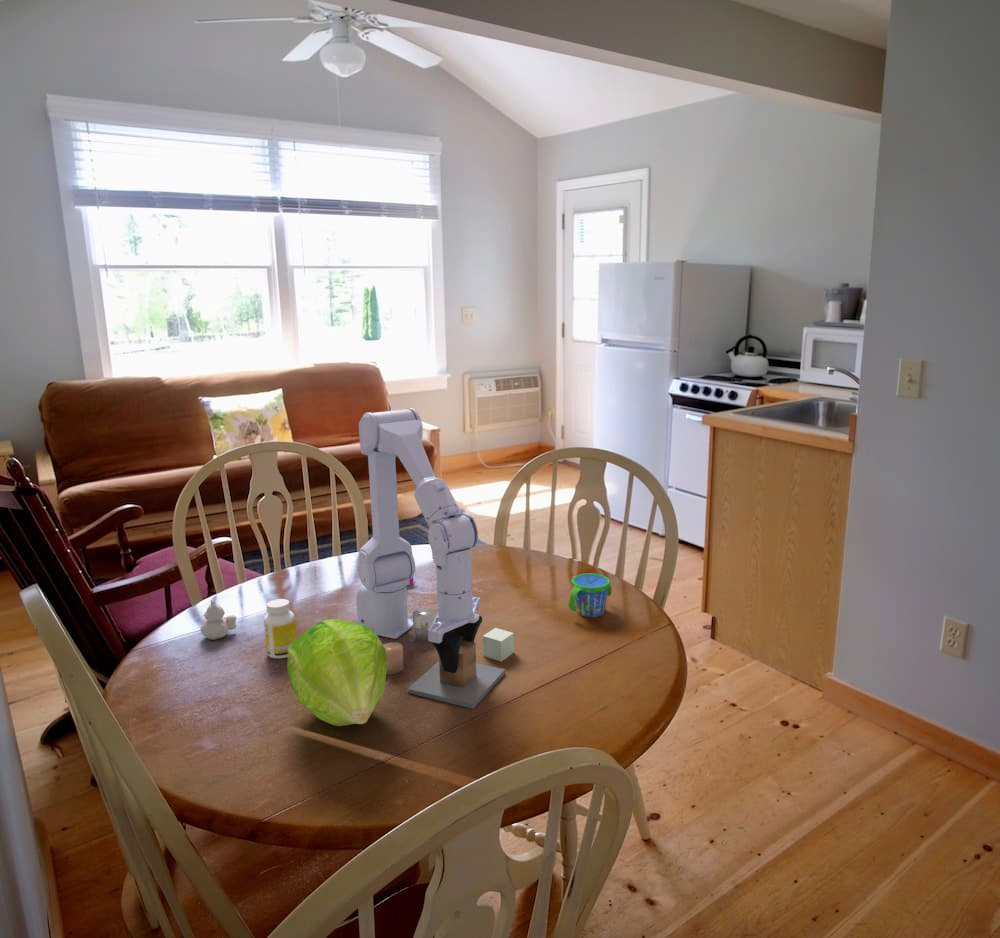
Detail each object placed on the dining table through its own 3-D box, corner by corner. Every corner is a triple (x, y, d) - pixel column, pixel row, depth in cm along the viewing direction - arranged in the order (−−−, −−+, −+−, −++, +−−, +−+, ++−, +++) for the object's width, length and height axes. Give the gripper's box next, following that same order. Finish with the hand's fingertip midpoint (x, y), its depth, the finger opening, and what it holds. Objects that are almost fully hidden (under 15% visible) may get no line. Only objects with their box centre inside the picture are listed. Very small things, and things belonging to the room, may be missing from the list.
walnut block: (440, 682, 119) (438, 649, 118) (452, 670, 123) (451, 638, 122) (464, 688, 117) (463, 654, 116) (476, 675, 121) (475, 642, 120)
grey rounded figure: (201, 635, 140) (196, 596, 138) (236, 627, 143) (232, 590, 141) (203, 646, 135) (198, 606, 134) (239, 638, 138) (235, 600, 136)
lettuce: (302, 781, 96) (293, 678, 93) (288, 698, 117) (281, 611, 113) (409, 756, 101) (404, 657, 98) (378, 681, 122) (373, 597, 118)
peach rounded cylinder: (376, 671, 125) (375, 650, 124) (389, 661, 129) (387, 640, 128) (395, 676, 123) (394, 654, 122) (408, 665, 127) (407, 644, 126)
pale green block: (483, 656, 130) (482, 635, 129) (495, 647, 133) (495, 627, 132) (501, 662, 128) (501, 641, 127) (513, 653, 131) (513, 633, 130)
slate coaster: (408, 693, 118) (407, 688, 118) (443, 660, 128) (443, 656, 128) (473, 708, 113) (473, 704, 113) (505, 673, 123) (504, 669, 123)
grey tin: (409, 639, 137) (408, 615, 136) (421, 630, 141) (420, 606, 140) (429, 643, 135) (428, 618, 134) (440, 633, 139) (439, 609, 138)
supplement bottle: (303, 648, 134) (299, 599, 131) (283, 662, 129) (279, 611, 127) (281, 643, 136) (276, 595, 134) (260, 656, 131) (255, 606, 129)
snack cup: (582, 628, 140) (582, 592, 139) (556, 615, 146) (556, 580, 145) (623, 613, 147) (624, 579, 145) (597, 601, 153) (598, 568, 151)
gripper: (455, 608, 109) (457, 690, 112) (495, 576, 121) (497, 650, 125) (415, 601, 112) (418, 681, 115) (459, 570, 124) (461, 642, 127)
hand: (457, 664), depth 120 cm, fingers closed on walnut block, 4 cm apart
